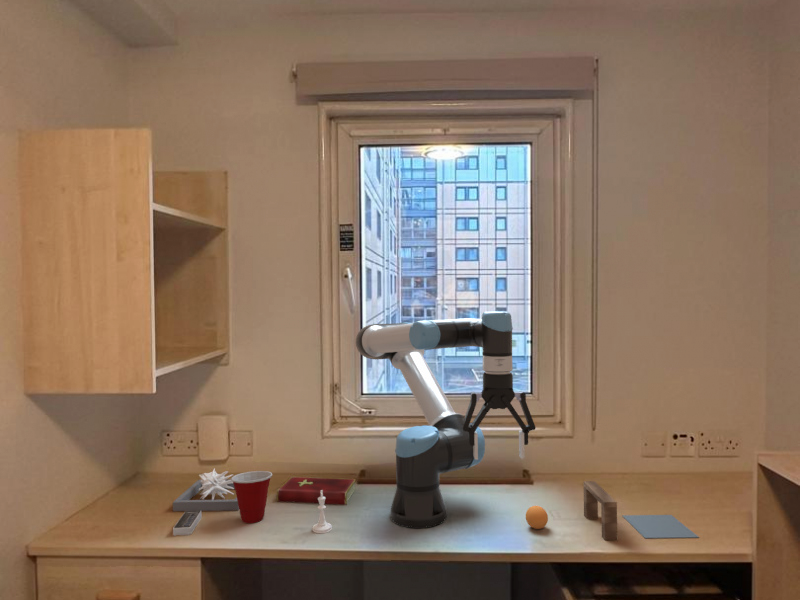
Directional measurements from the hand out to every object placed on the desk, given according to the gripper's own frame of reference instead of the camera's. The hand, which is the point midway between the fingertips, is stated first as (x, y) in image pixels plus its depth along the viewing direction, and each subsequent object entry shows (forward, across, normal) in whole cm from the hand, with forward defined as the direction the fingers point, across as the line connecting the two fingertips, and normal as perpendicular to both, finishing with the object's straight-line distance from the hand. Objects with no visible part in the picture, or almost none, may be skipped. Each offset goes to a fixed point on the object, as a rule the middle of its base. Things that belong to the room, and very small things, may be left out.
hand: (498, 457), depth 133 cm
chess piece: (+18, -46, +1) cm, 49 cm away
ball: (+15, +10, 0) cm, 18 cm away
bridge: (+18, +26, 0) cm, 31 cm away
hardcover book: (+19, -50, +24) cm, 59 cm away
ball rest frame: (+18, -80, +23) cm, 86 cm away
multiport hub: (+19, -81, +4) cm, 84 cm away
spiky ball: (+18, -80, +24) cm, 86 cm away
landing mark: (+18, +40, 0) cm, 44 cm away
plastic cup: (+18, -66, +8) cm, 69 cm away
